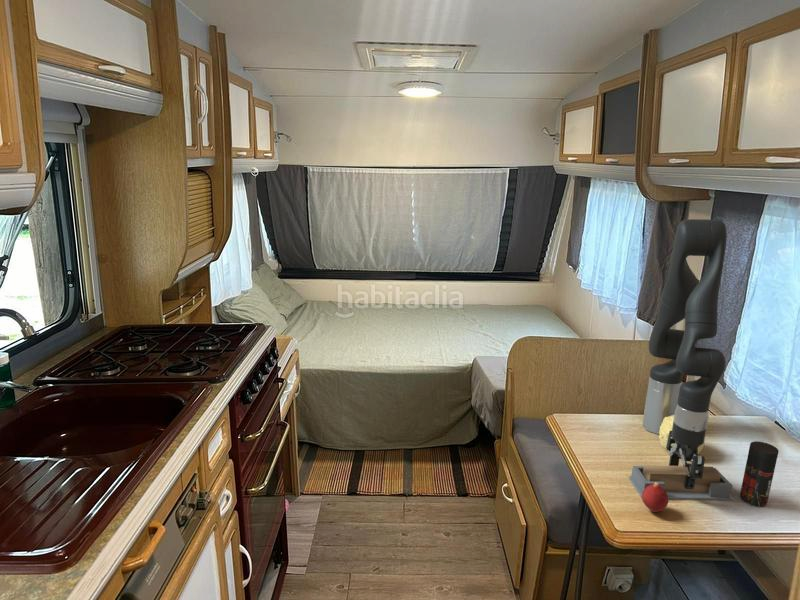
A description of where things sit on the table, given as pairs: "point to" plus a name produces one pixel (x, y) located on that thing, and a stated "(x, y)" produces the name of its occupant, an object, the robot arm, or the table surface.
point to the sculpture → (664, 432)
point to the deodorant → (758, 473)
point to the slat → (680, 477)
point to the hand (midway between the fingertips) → (680, 478)
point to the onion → (655, 497)
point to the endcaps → (715, 491)
